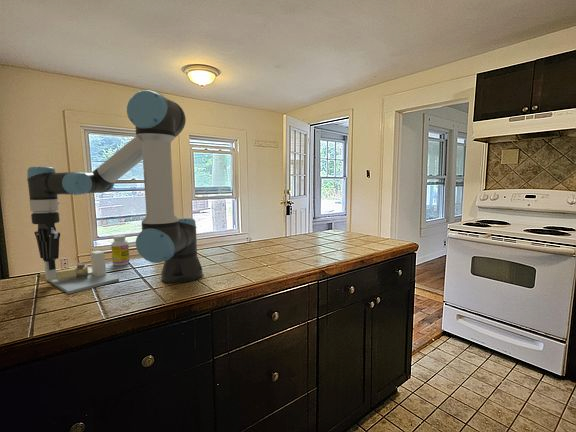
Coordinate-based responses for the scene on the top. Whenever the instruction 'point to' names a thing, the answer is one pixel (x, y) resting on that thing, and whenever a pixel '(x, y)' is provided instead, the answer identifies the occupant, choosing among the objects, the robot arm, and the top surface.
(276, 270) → the top surface
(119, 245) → the supplement bottle
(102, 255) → the mounted latch plate
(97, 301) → the top surface
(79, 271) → the bar
